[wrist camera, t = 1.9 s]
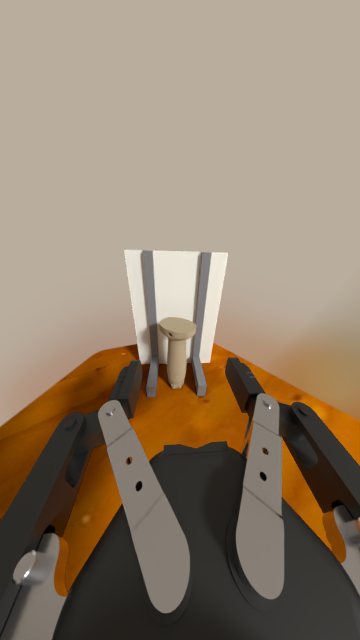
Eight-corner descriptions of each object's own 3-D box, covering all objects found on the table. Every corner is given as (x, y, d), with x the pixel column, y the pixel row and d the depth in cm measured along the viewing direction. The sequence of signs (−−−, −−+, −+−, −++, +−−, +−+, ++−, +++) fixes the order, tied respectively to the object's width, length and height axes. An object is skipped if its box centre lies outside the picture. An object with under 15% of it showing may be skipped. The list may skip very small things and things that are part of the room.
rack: (131, 398, 27) (99, 250, 15) (141, 359, 36) (126, 249, 24) (220, 394, 28) (256, 255, 16) (208, 358, 38) (225, 252, 26)
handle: (169, 370, 34) (169, 314, 27) (193, 381, 31) (200, 323, 24) (157, 385, 30) (153, 325, 23) (184, 399, 27) (188, 336, 20)
